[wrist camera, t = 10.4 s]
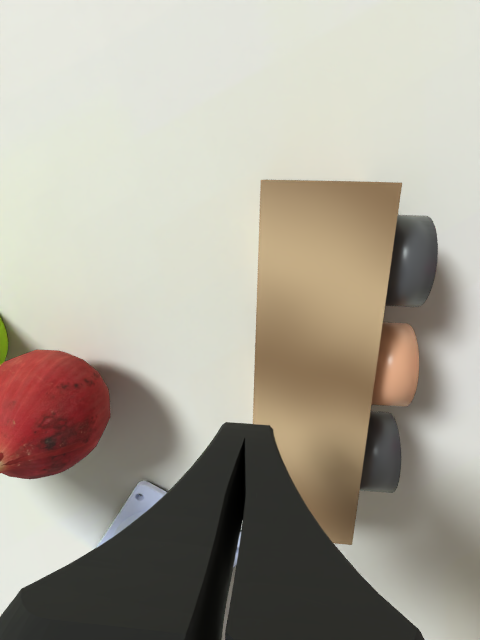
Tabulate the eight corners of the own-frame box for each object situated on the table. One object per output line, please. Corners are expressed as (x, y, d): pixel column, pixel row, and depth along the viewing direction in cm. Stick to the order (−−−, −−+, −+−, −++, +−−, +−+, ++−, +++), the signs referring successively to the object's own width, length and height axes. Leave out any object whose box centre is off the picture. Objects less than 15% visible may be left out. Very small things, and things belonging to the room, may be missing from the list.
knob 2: (400, 293, 19) (427, 319, 15) (264, 288, 19) (261, 311, 16) (412, 212, 18) (444, 220, 14) (267, 208, 18) (264, 215, 15)
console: (334, 459, 23) (351, 544, 18) (255, 454, 24) (249, 535, 18) (365, 181, 19) (401, 182, 13) (266, 179, 19) (261, 179, 13)
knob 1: (375, 458, 22) (393, 510, 18) (258, 450, 22) (254, 499, 19) (384, 398, 21) (405, 441, 17) (260, 391, 21) (256, 431, 18)
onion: (127, 331, 22) (49, 410, 15) (133, 424, 24) (67, 537, 16) (23, 325, 22) (-105, 398, 15) (37, 416, 24) (-71, 523, 17)
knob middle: (388, 382, 20) (410, 423, 17) (262, 375, 21) (258, 413, 17) (398, 312, 19) (424, 341, 16) (264, 306, 20) (261, 333, 16)
